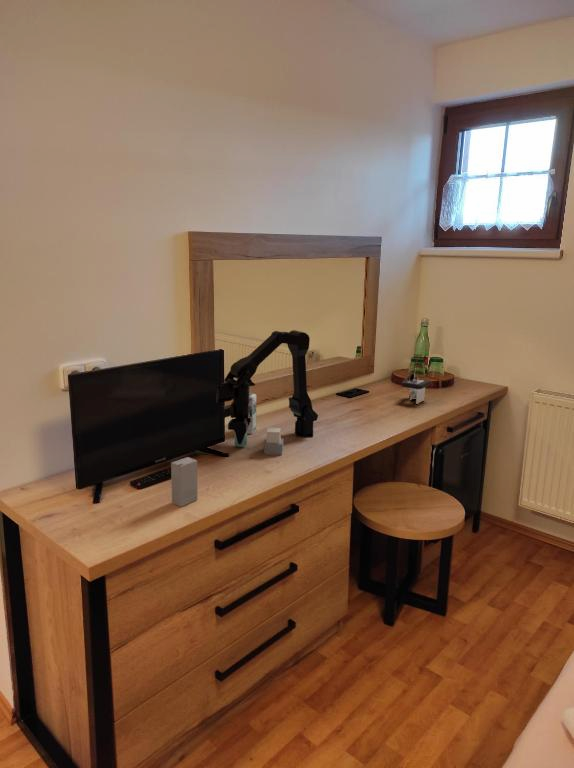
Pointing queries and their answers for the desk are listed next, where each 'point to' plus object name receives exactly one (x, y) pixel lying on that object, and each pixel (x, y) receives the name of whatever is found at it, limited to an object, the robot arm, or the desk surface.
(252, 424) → the syrup box
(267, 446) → the base block
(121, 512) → the desk surface
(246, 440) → the teal cylinder
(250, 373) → the robot arm
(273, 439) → the top block
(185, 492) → the skincare box
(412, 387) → the black-topped pedestal
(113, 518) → the desk surface
